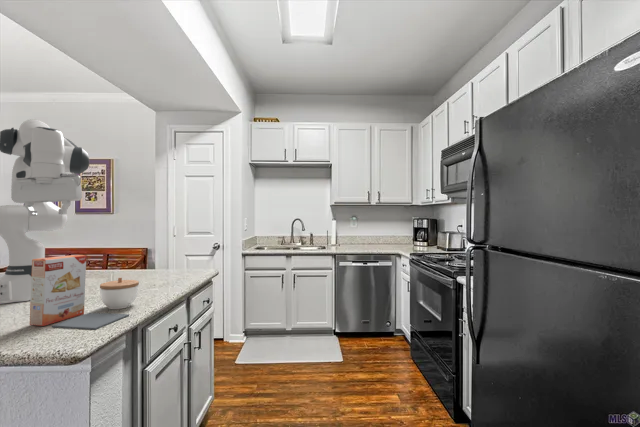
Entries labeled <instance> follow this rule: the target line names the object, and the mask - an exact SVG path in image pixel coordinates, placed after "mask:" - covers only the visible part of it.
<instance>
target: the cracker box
mask: <svg viewBox="0 0 640 427" xmlns="http://www.w3.org/2000/svg"><path fill="white" fill-rule="evenodd" d="M86 269H87V255H83V254H71V255H59V256H51V257H50V256H49V257H45V258H39V259H32V276H31V300H29V301H30V302H29V306H30V307H29V326H38V327H39V326H40V327H44V326H48V325H52V324H55V323H60V322H63V321H66V320H70V319H73V318H76V317H79V316H82V315H85V303H86V302H85V299H86V297H85V296H86V278H87V277H86V273H87V270H86Z"/></svg>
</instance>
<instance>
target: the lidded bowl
mask: <svg viewBox="0 0 640 427" xmlns="http://www.w3.org/2000/svg"><path fill="white" fill-rule="evenodd" d="M139 283H140V281H139V280H136V279H123V277H118V278H117V280H110V281H106V282H102V283H101V284H99V294H100V299H101V300H100V301H101V302H102V304H104V306H106V307H107V308H108V310H120V309H121V310H122V309H126V308H129V307H131V304H133V303H134V302H135V301H136V299H137V297H138V292H139V285H140V284H139Z"/></svg>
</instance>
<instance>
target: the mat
mask: <svg viewBox="0 0 640 427" xmlns="http://www.w3.org/2000/svg"><path fill="white" fill-rule="evenodd" d="M129 316H130V314H129V313H106V312H88V313H84V314H82V315H79V316H75V317H72V318H69V319H66V320H63V321H60V322H57V323H56V324H55V323H54V324H53V325H52V324H51V328H57V327H62V328H61V329H75V328H77V329H79V330H80V329H81V330H98V329H100V328H103V327H106V326H108V325H111V324H113V323H116V322H118V321H121V320H123V319H124V318H127V317H129Z"/></svg>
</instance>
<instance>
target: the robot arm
mask: <svg viewBox="0 0 640 427" xmlns="http://www.w3.org/2000/svg"><path fill="white" fill-rule="evenodd" d="M0 153H3V154H5V155H10V156H11V155H14V156H18V157H17V158H16V159H15V161H14V164H13V167H12V172H11V185H10V186H11V187H10V188H11V189H10V192H11V195H10V196H11V197H10V198H11V201H13V202H14V203H15V205H14V204H12V205H11V204H9V205H0V237H1V238H2V239H3V240H4V241H5V243H6V246H7V249H8V260H9V261H8V266H5V267H3V271H5V273H4V275H3V276H1V277H0V304H1V305H2V304H10V303H17V302H26V301H27V302H28V301H30V300H31V276H32V259H39V258H46V247H45V245H44V243H42V242H40V241H39V240H35V239H33V238H30V237H28V236H27V235H26V233H28V232H53V231H59V230H61V229H63V228H64V227H65V226H66V225H67V223H68V213H67V212H68V209H69V207H70V206H71V205H72V204H71V202H78V201H79V202H80V201H81V200H82V199H83V191H82V190H83V189H82V185H81V184H82V182H81V181H82V179H81V176H80V175H81V174H83V173H84V172H85V171H87V170H88V169H89V167H90V156H89V153H88V152H87V151H86V150H85V149H84V148H83V147H81V146H80V147H79V146H77V145H76V144H75V142H72V141H71V139H69V138H66V137H64V134H63V132H62V131H60V130H59V129H55V128H52V127H50V125H48V124H47V123H46V122H44V121H42V120H39V119H36V118H35V119H33V118H31V119H30V118H29V119H27V120H25V121H23V122H22V123H21V124H20V126H19V129H16V128H14V127H11V128H5V129H2V130H1V131H0ZM57 202H61V204H62V206H61V207H59V206H58V205H56V204H55V203H57ZM16 203H18V205H16ZM19 204H23V205H19Z"/></svg>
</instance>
